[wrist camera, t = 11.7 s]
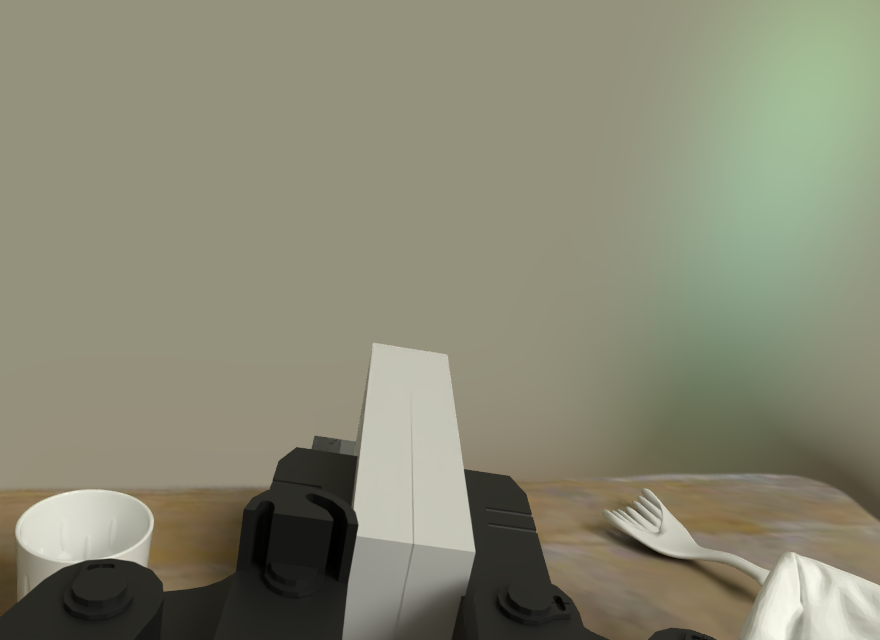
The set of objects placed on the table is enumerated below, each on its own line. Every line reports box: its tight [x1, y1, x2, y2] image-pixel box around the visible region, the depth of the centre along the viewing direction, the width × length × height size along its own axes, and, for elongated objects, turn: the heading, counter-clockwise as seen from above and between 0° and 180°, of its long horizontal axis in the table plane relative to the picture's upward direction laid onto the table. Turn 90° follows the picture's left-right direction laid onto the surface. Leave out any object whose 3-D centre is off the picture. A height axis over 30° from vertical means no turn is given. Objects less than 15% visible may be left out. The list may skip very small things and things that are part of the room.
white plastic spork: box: [602, 488, 771, 587], centre depth 70 cm, size 9×32×4 cm, turn 47°
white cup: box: [15, 489, 154, 602], centre depth 50 cm, size 8×8×10 cm
